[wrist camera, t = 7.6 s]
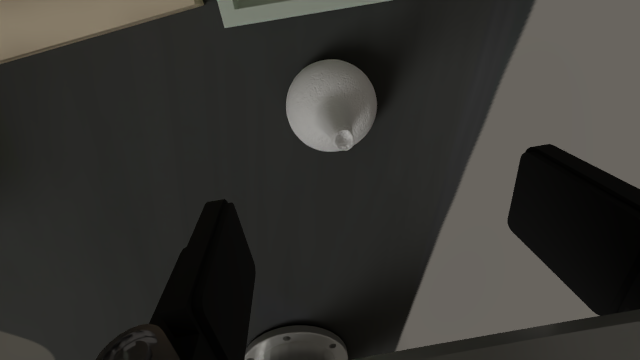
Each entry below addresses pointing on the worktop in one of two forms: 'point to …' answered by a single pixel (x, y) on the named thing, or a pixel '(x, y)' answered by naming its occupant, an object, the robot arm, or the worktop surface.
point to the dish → (278, 9)
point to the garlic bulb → (331, 105)
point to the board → (73, 21)
